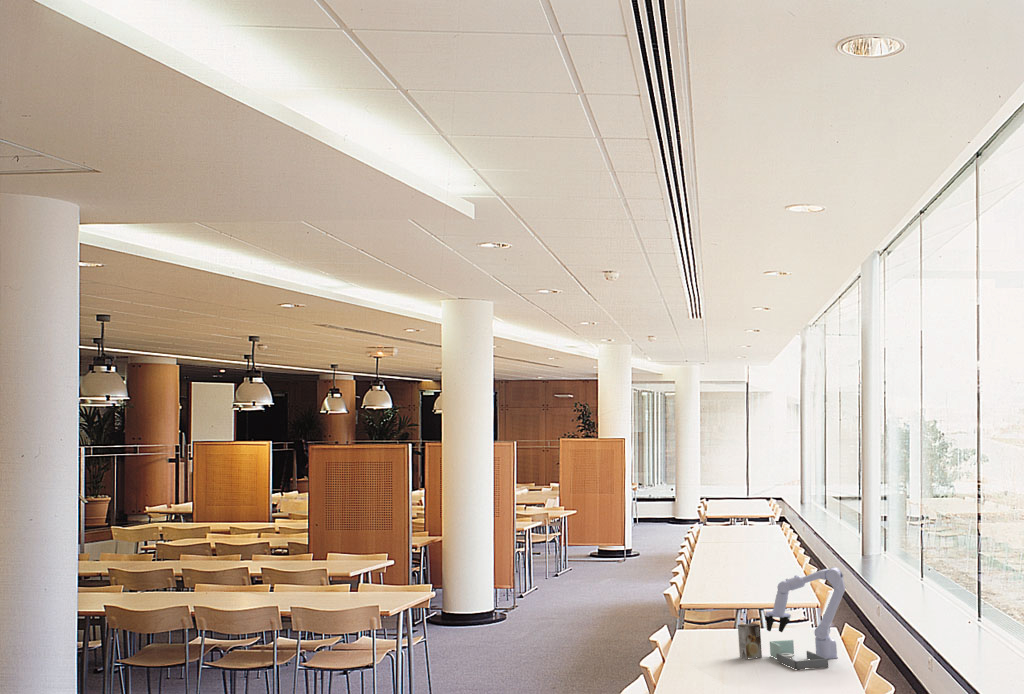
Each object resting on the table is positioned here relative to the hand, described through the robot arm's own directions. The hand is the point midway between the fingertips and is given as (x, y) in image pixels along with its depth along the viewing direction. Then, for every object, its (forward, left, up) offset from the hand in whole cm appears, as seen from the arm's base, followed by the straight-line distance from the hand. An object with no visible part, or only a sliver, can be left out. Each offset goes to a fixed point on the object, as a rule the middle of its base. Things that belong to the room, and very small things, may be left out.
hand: (774, 631), depth 527 cm
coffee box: (+14, +2, -12) cm, 19 cm away
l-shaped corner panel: (-2, +8, -12) cm, 15 cm away
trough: (-2, +25, -12) cm, 27 cm away
